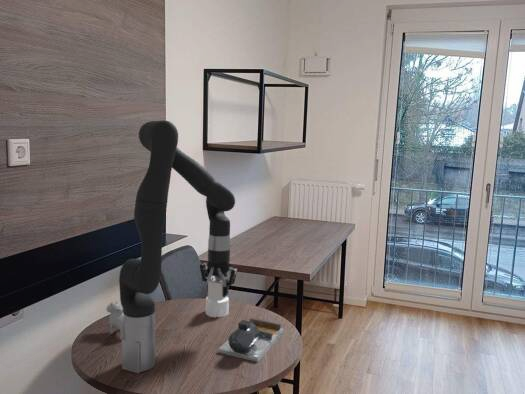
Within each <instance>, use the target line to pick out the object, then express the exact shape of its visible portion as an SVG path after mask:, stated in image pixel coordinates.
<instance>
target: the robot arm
mask: <svg viewBox="0 0 525 394" xmlns="http://www.w3.org/2000/svg"><path fill="white" fill-rule="evenodd" d="M138 139H139V142H140V144H141V145H142V146H143V148H145V149H146V150H147V151H149V152H150V157H149V164H148V167H147V171H146V173H145V175H144V177H143V179H142V180H141V182H140V185H139V187H138V189H137V191H136V195H135V203H134V209H133V219H134V223H135V226H136V229H137V232H138V236H139V238H140V239H139V240H140V242H141V255H140V259H138V258H129V259H127V260H126V261H124V263H123V264H122V265H121V267H120V271H119V279H118V280H119V281H118V282H119V283H118V284H119V298H120V305H121V307H122V312H123V314H124V337H123V339H122V340H121V370H125V371H128V372H132V373H133V374H134V373H135V374H140V373H141V372H147V371H149V370H151V369H152V368H154V366H155V365H156V362H155V361H156V357H155V356H156V355H155V353H156V350H155V348H156V346H155V345H156V344H155V341H156V334H155V333H156V329H155V328H156V324H155V323H156V322H155V321H156V318H155V317H156V313H155V312H156V311H155V310H156V309H155V308H156V305H155V301H154V300H153V299H152V298H151V297H150V296H149V294H152V293H154V292H155V291H156V290H157V288H158V287H159V284H160V281H161V277H162V275H161V274H162V253H163V251H162V248H163V237H164V236H163V235H164V228H165V227H164V226H165V220H166V215H167V214H166V213H167V206H168V198H169V190H170V189H169V188H170V182H171V177H172V176H171V175H172V169H173V170H174V171H175V172H176V173H177V174H179V175H180V176H181V178H183V179H184V180H185V181H186V182H187V183H188V184H189V185H190V186H191V187H192V188H193V189H194V190H195V191H196V192H197V193H198V194H200V195H202V196H204V197H206V199H205V205H206V206H205V207H206V213H207V217H208V221H209V228H208V229H209V231H208V233H209V234H208V239H207V240H208V241H207V242H208V243H207V244H208V245H207V246H208V247H207V263H206V262H203V263H201V264H200V265H199V268H200V276H201V280H202V281H203V282H205V283H206V286H207V287H206V292H207V293H208V281H211V280H212V279H214V278H215V276H218V277H220V278H221V281H222V283H223V297H226V296H227V297H228V295H229V288H230V287H231V286H233V285H234V284H235V281H236V277H237V274H238V268H236V267H235V268H234V267H231V264H230V261H231V220H230V219H229V218H228V217H227V216H226V214H225V212H228V211H231V210H232V209H233V208H234V207H235V204H236V199H235V195H234V193H233V192H232V191H231V190H230V189H228V188H227V187H226V186H225V185H223V184H222V183H221V182H219V181H218V180H217V179H216V178H214V176H212V174H211V173H210V171H208V170H207V168H205V167H204V166H203V165H201V163H200V162H198V161H196V159H194V158H192V157H190V156H189V155H187V154H186V153H185V152H183V151H182V150H181V149H179V148H178V145H179V144H178V142H179V132H178V129H177V127H176V125H175V124H174V123H172V122H171V121H168V120H152V121H148V122H145V123H144V124H143V125H142V126H141V127H140V128H139V131H138ZM208 270H209V271H208ZM208 272H209V273H208ZM228 272H229V273H228Z"/></svg>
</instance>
